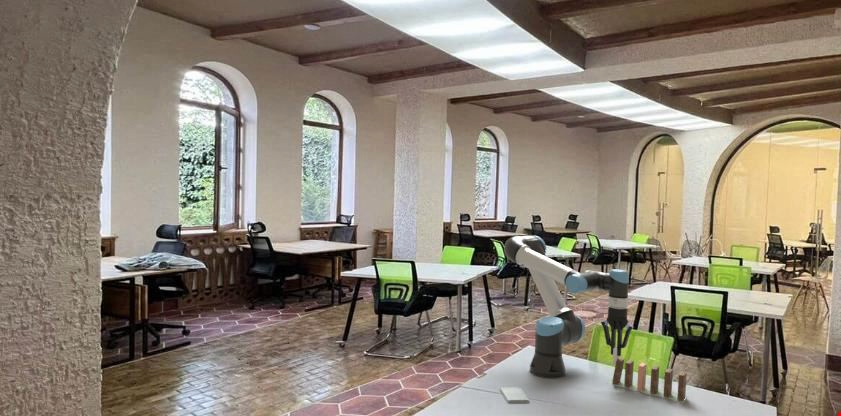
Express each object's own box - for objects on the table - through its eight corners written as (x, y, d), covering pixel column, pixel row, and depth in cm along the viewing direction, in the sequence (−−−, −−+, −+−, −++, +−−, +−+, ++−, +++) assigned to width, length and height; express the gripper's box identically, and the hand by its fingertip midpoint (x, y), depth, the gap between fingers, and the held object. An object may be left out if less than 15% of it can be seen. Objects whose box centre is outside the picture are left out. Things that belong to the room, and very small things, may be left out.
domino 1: (612, 383, 220) (616, 360, 219) (615, 379, 224) (620, 357, 223) (616, 384, 219) (620, 361, 218) (620, 381, 223) (624, 358, 222)
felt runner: (607, 383, 220) (607, 383, 220) (613, 378, 227) (613, 378, 227) (683, 403, 203) (683, 402, 203) (687, 397, 209) (688, 396, 209)
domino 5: (663, 396, 208) (664, 371, 208) (666, 392, 212) (668, 368, 211) (668, 397, 207) (669, 372, 206) (671, 394, 211) (672, 369, 210)
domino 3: (637, 389, 214) (638, 365, 214) (640, 386, 218) (641, 362, 218) (641, 391, 213) (643, 366, 212) (645, 387, 217) (646, 363, 216)
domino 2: (624, 386, 217) (625, 362, 217) (628, 383, 221) (629, 359, 221) (628, 387, 216) (630, 363, 216) (632, 384, 220) (633, 360, 220)
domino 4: (650, 393, 211) (651, 368, 211) (653, 389, 215) (654, 365, 215) (654, 394, 210) (656, 369, 209) (658, 390, 214) (659, 366, 213)
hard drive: (529, 400, 198) (520, 387, 211) (508, 400, 198) (499, 387, 210) (529, 404, 199) (519, 391, 211) (507, 404, 198) (499, 391, 210)
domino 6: (677, 400, 205) (678, 374, 204) (680, 396, 209) (681, 371, 208) (682, 401, 204) (683, 375, 203) (685, 397, 208) (686, 372, 207)
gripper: (599, 305, 222) (596, 361, 223) (631, 311, 214) (628, 368, 215) (605, 303, 228) (603, 357, 228) (636, 308, 220) (634, 364, 220)
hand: (615, 362), depth 222 cm, fingers closed
